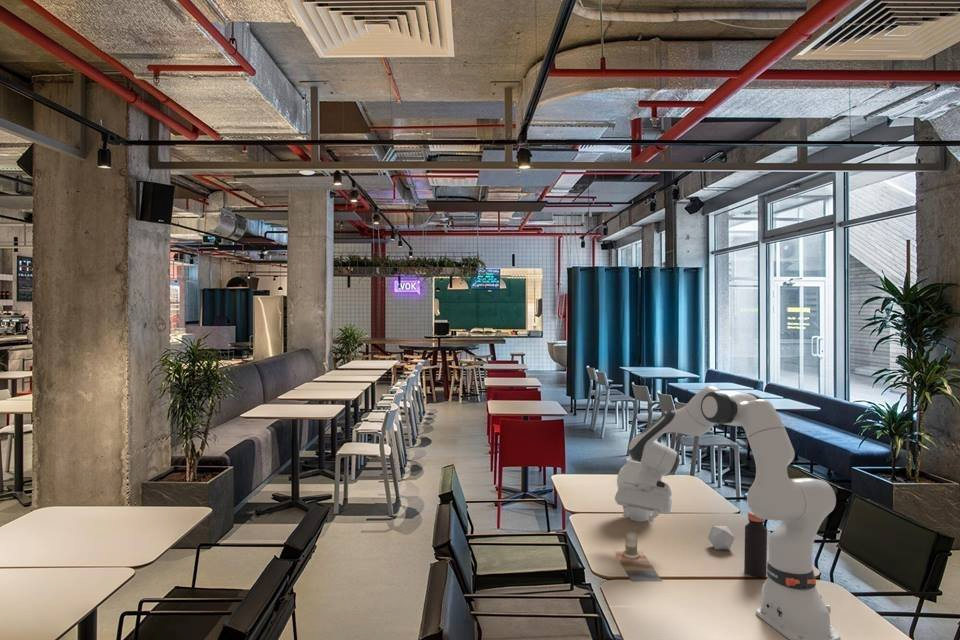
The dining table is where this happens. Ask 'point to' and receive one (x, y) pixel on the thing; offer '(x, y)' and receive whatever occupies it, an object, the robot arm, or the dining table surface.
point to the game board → (638, 568)
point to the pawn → (631, 546)
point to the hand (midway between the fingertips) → (637, 518)
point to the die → (721, 537)
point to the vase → (630, 475)
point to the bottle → (755, 546)
